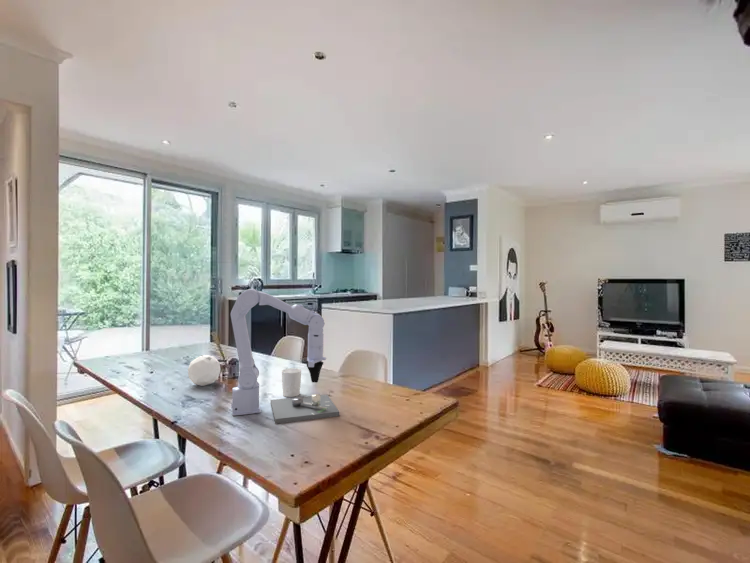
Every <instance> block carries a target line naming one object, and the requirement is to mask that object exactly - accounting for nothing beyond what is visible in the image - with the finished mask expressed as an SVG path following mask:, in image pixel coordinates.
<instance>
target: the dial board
mask: <svg viewBox="0 0 750 563" xmlns="http://www.w3.org/2000/svg"><path fill="white" fill-rule="evenodd" d="M301 397H302V398H303V402H307V403H312V395H310V396H301ZM293 398H294V397H286V398H279V399H278V398H276V399H270V403H269V404H270V408H271V411H272V412H271V413H272V417H273V421H274V424H282V423H284V424H285V423H291V422H298V421H299V422H301V421H308V420H315V419H316V420H317V419H325V418H326V419H327V418H333V417H335V418H336V417H340V410H339V409H338V407H337V406H336V405H335V403H334V402H333V401H332V399H331V398H330V396H329V395H328V394H320V406H321V407H326V408H327V410H324V409H319V408H311V407H306V406H293V405H292V399H293Z"/></svg>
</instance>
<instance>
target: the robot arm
mask: <svg viewBox="0 0 750 563" xmlns="http://www.w3.org/2000/svg"><path fill="white" fill-rule="evenodd" d="M257 304H258V305H259V306H271V307H272V308H274V309H277V310H279V311H281V312H284V313H286V314H288V317H289V319H290V320H293V321H295V322H297V323H299V324H302V325H304V326H308V333H307V357H306V361H307V363H306V367H307V370H308V371H309V375H310V381H311V383H316V384H317V383H318V382H319V378H320V374H321V370H322V367H323V365H324V362H323V361H326V360H327V357H324V326H325V320H324V318H323V317H322V315H321V314H319V313H318V312H315V310H313V309H312V310H310V309H307V308H306V307H304V305H303V304H301V303H300V304H297V303H296V304H293V305H291V304H289V303H287V302H286V301H284V300H281V299H279V298H278V297H276V296H274V295H272V294H270V293H267V292H264V291H261V290H259V291H258V289H255V288H248V289H245V290H243V291H242V292H241V293H240V294H239V295H238V296H237V297H236V301H235V303H234V304H233V306H232V309H231V311H230V319H231V324H232V331H233V335H234V336H233V337H234V340H235V341H234V342H235V347H236V352H237V357H238V358H237V359H238V364H239V365H238V370H239V376H238V379H237V381H238V385H237V386H235V387H232V395H231V396H232V400H231V401H232V403H231V405H230V406H231V408H230V409H232V411H231V412H232V413H231V415H232V416H233V417H234V416H242V415H244V416H245V415H251V414H253V415H254V414H260V413H262V412H261V405H260V383H259V382H258V377H259V375H260V371H259V368H258V367H257V366H256V363H255V360H254V358H253V357H254V356H253V352H252V351H253V350H252V348H251V347H252V346H251V341H250V340H251V339H250V335H249V330H248V325H247V324H248V323H247V318H246V315H247V314H248V313H249V311H251V309H252V308H253V307H255V306H256V305H257Z"/></svg>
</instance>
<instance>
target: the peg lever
mask: <svg viewBox="0 0 750 563" xmlns="http://www.w3.org/2000/svg"><path fill="white" fill-rule="evenodd" d="M320 395H321V394H320V393H312V394H311V396H312V403H307V402H303V398H302V397H303V396H295V397H292V398H293V399H292V405H293V406H306V407H311V408H319V409H324V410H327V408H326V407H321V406H320Z"/></svg>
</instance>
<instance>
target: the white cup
mask: <svg viewBox="0 0 750 563" xmlns="http://www.w3.org/2000/svg"><path fill="white" fill-rule="evenodd" d="M301 379H302V369H301V368H295V367H294V368H292V367H291V368H284V369H282V370H281V383H282V384H281V385H282V395H283V397H286V398H295V397H299V396H300V394H301V384H302V380H301Z"/></svg>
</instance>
